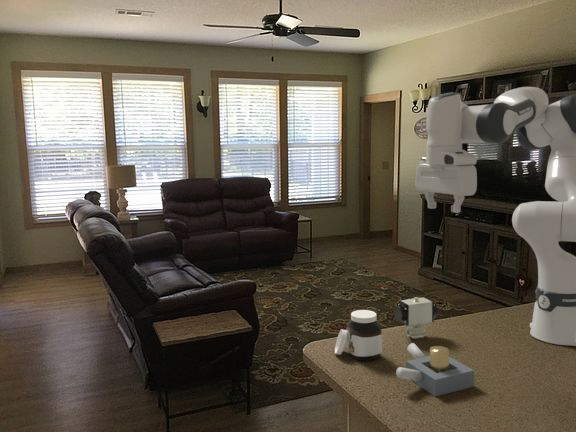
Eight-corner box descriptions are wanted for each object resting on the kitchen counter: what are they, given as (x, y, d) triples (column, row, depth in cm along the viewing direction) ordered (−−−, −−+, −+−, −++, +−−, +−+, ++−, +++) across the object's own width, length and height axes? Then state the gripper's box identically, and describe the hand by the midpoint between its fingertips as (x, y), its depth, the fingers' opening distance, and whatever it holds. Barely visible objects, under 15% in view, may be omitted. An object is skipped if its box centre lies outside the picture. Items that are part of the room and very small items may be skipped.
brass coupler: (440, 375, 123) (441, 344, 122) (452, 383, 119) (453, 351, 118) (425, 379, 122) (426, 347, 120) (437, 387, 117) (437, 354, 116)
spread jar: (386, 359, 134) (386, 317, 132) (349, 367, 129) (348, 324, 128) (363, 343, 145) (362, 304, 143) (327, 351, 140) (327, 310, 139)
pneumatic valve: (438, 336, 148) (438, 297, 146) (402, 342, 144) (402, 302, 143) (427, 330, 153) (427, 292, 151) (392, 335, 150) (392, 296, 148)
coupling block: (427, 358, 133) (428, 338, 132) (473, 386, 117) (474, 363, 116) (371, 371, 127) (371, 350, 126) (412, 402, 111) (412, 378, 110)
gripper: (409, 157, 138) (409, 207, 140) (461, 158, 119) (460, 215, 121) (428, 156, 141) (428, 205, 143) (481, 157, 122) (480, 213, 124)
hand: (443, 210), depth 132 cm, fingers open, 8 cm apart
